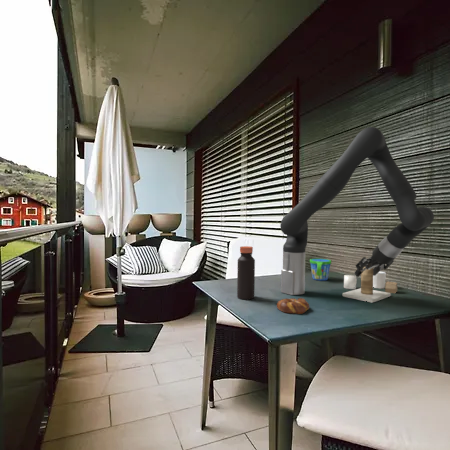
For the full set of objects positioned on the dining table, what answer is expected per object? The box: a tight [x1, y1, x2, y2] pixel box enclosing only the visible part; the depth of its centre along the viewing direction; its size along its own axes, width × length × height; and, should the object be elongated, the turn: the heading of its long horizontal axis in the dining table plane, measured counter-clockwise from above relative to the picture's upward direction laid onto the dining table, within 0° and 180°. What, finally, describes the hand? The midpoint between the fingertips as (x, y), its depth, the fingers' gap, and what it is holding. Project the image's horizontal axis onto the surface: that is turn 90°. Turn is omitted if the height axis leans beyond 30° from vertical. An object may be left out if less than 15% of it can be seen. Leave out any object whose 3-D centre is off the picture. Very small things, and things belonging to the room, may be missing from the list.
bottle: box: [236, 245, 256, 301], centre depth 120 cm, size 7×7×20 cm
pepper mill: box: [360, 264, 374, 295], centre depth 124 cm, size 4×4×13 cm
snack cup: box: [309, 258, 332, 282], centre depth 157 cm, size 16×10×10 cm
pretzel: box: [276, 297, 310, 315], centre depth 106 cm, size 12×11×4 cm
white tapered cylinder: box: [373, 270, 387, 289], centre depth 141 cm, size 7×7×7 cm
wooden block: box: [384, 281, 398, 294], centre depth 132 cm, size 4×4×4 cm
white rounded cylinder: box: [343, 274, 358, 290], centre depth 138 cm, size 5×5×6 cm
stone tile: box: [341, 287, 392, 304], centre depth 124 cm, size 16×12×1 cm
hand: (364, 274), depth 125 cm, fingers open, 8 cm apart
